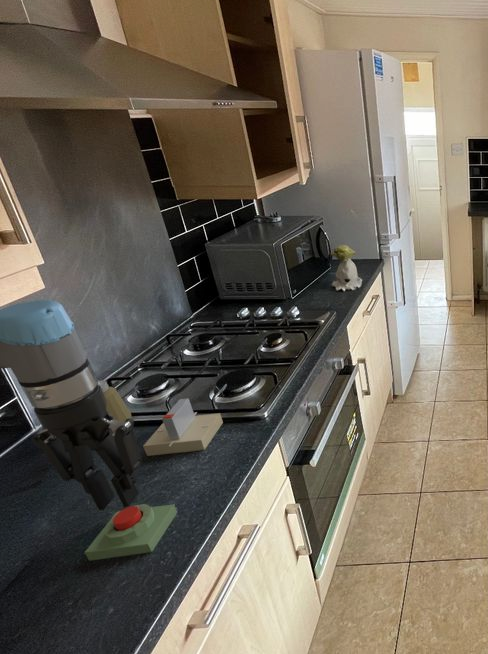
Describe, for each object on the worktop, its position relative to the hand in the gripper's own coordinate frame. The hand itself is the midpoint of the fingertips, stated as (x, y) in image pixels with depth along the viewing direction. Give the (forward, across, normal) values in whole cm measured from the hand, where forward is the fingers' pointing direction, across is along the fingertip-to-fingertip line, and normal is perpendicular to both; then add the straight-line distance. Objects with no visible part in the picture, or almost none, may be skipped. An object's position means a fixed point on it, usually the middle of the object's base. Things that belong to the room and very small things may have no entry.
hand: (119, 501), depth 74 cm
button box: (+9, 0, 0) cm, 9 cm away
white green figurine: (+9, +15, +113) cm, 115 cm away
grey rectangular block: (+6, -4, +25) cm, 26 cm away
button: (+5, 0, 0) cm, 5 cm away
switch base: (+9, -4, +25) cm, 27 cm away
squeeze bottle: (+9, -22, +29) cm, 37 cm away
